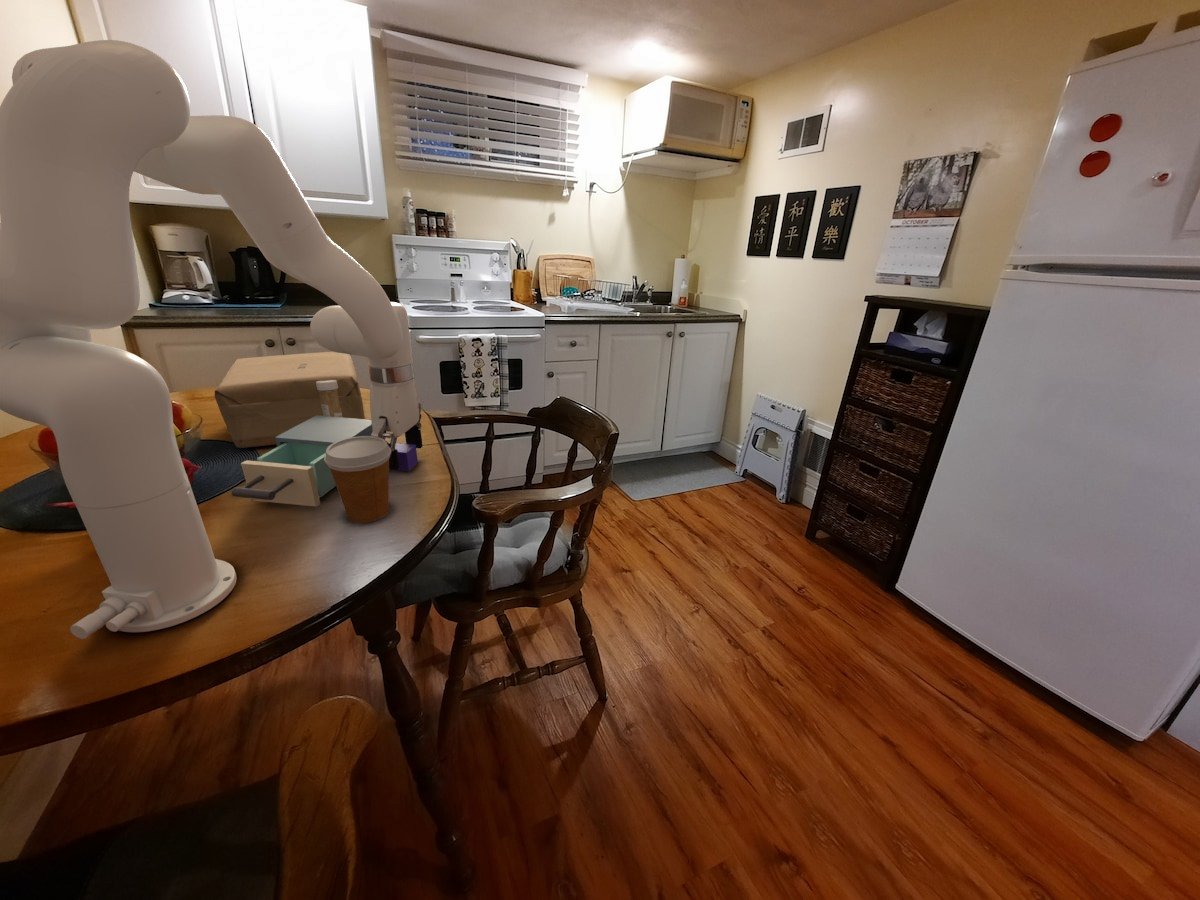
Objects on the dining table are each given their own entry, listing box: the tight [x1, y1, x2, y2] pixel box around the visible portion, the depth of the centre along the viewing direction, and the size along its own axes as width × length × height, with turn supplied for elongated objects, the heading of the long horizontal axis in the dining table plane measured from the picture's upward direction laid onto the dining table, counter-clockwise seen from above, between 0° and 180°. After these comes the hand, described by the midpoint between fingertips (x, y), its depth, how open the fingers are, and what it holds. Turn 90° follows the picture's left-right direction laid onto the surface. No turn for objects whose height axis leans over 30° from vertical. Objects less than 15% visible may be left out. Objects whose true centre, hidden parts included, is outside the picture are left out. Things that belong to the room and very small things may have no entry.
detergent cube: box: [389, 442, 419, 472], centre depth 96 cm, size 4×4×4 cm
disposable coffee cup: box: [324, 436, 391, 524], centre depth 78 cm, size 10×10×12 cm
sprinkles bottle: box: [316, 380, 342, 417], centre depth 105 cm, size 5×5×13 cm
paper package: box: [214, 351, 366, 449], centre depth 111 cm, size 27×26×14 cm
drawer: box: [231, 442, 337, 507], centre depth 81 cm, size 16×11×7 cm
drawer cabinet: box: [275, 415, 373, 447], centre depth 92 cm, size 12×13×9 cm
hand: (403, 457), depth 96 cm, fingers open, 9 cm apart
